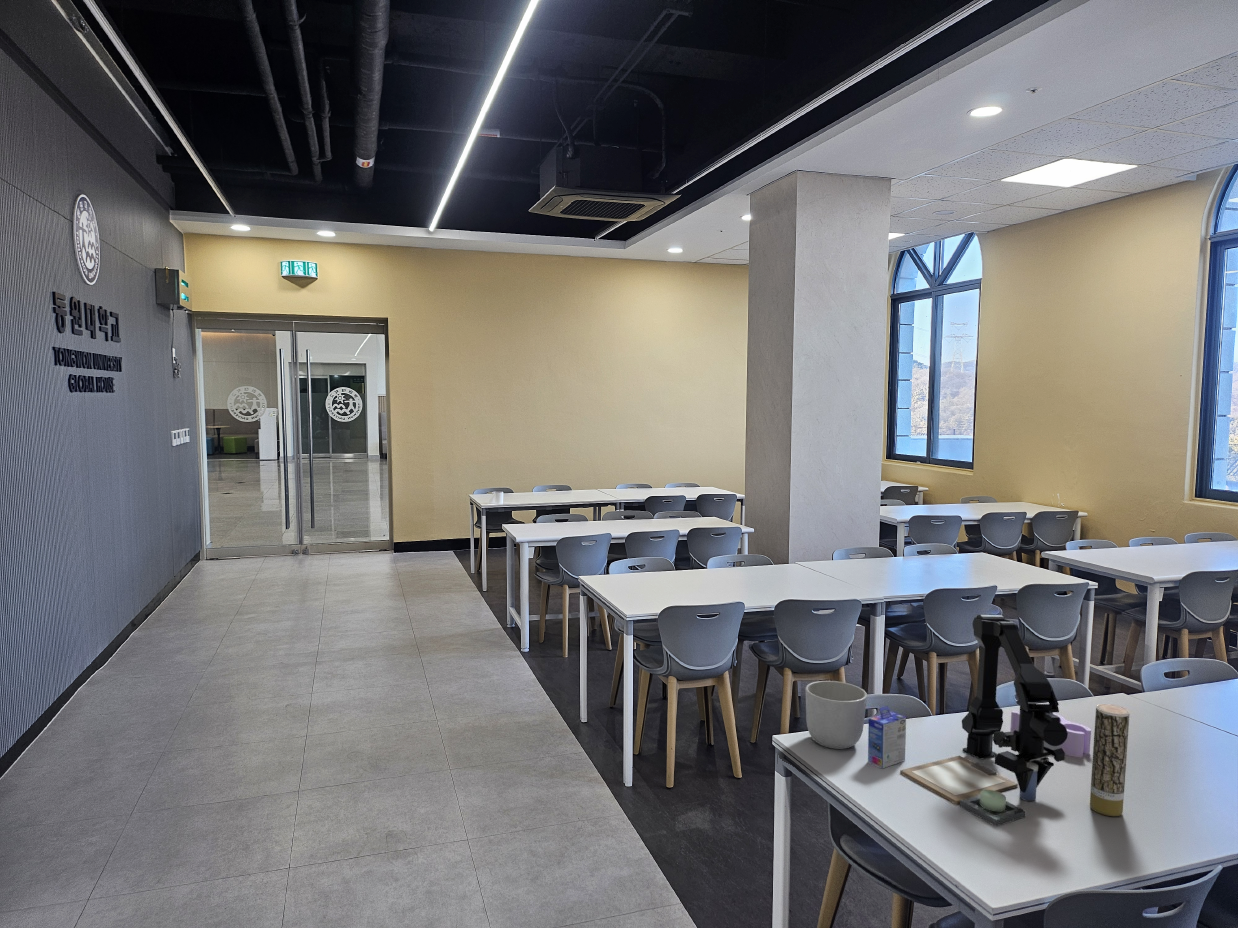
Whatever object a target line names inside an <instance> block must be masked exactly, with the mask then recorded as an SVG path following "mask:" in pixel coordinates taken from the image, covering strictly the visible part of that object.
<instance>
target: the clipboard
mask: <svg viewBox="0 0 1238 928" xmlns="http://www.w3.org/2000/svg"><path fill="white" fill-rule="evenodd" d="M899 773H900V774H901V775H903V776H905V777H906V778H907V779H910V780H912V781H914V782H915V783H917V784H919V785H921V786H922V787H924V788H925V789H928V790H930V791H932V792H933V793H936V794H937V795H939V796H941V797H942V798H944V799H946V800H948V801H950V802H952V803H953V804H955V805H960V800H963V799H967V798H970V797H974V796H977V795H980V792H981V791H982V790H994V791H997V792H1000V793H1001V792H1005V791H1008V790H1012V789H1015V788H1019V785H1018V782H1015V781H1012V780H1011V779H1008V778H1006V777H1004V776H1003V775H1001V774H998V772H997V771H995V770H994V769H991V768H989V767H987V766H985V765H983V764H981V763H979V762H974V761H972V760H970V759H968V758H965V757H963V756H962V755H956V756H951V757H948V758H944V759H940V760H936V761H932V762H927V763H924V764H920V765H916V766H912V767H907V768H903V769H900V770H899Z"/></svg>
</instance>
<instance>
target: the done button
mask: <svg viewBox="0 0 1238 928" xmlns="http://www.w3.org/2000/svg"><path fill="white" fill-rule="evenodd" d="M1006 801H1007V797H1006V795H1005V794H1004V793H1001V792H997V791H994V790H982V791H981V792H980V805H979V806H981V808H983V809H984V810H987V811H992V812H996V813H997V812H999V813H1000V812H1004V811H1006V810H1005V809H1006Z"/></svg>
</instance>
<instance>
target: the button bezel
mask: <svg viewBox="0 0 1238 928" xmlns="http://www.w3.org/2000/svg"><path fill="white" fill-rule="evenodd" d="M980 806H981V805H980V795H977V796H974V797H970V798H967V799H963V800H960V804H959V807H960V808H962V809H964V810H966V811H968V812H970V813H971V814H973V815H975V816H977V817H978V818H980V819H982V820H984V821H985V822H988V823H989V824H991V825H993V826H994V827H998V826H1001V825H1004V824H1008V823H1011V822H1014V821H1018V820H1020V819H1023V818H1026V810H1025V809H1022V808H1020V807H1019V806H1017V805H1015V804H1013V803H1010V802H1009V801H1007V800H1006V809H1005V810H1004V811H1005V812H1003V813H999V814H996V815H995V814H993V813H991V812H989V810H987V809H985V808H983V807H980Z"/></svg>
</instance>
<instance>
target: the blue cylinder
mask: <svg viewBox="0 0 1238 928" xmlns="http://www.w3.org/2000/svg"><path fill="white" fill-rule="evenodd" d="M1029 768H1031V769H1033V770H1034V771H1033V774H1032V777H1031V779H1030V782H1029V784H1028V787H1027V789H1026V791H1025V792H1022V791H1020V790H1019V797H1020V798H1021V799H1022V800H1025V801H1027V802H1033V801H1035V800H1036V799H1037V771H1038V765H1037V764H1036V763H1033V762H1030V764H1029Z"/></svg>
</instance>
